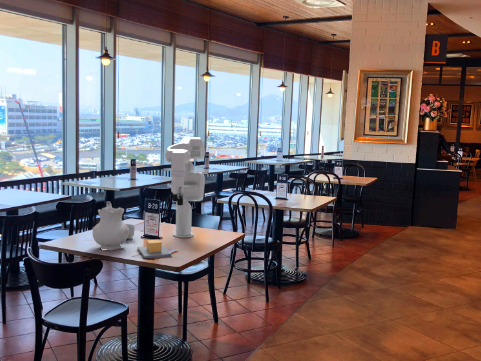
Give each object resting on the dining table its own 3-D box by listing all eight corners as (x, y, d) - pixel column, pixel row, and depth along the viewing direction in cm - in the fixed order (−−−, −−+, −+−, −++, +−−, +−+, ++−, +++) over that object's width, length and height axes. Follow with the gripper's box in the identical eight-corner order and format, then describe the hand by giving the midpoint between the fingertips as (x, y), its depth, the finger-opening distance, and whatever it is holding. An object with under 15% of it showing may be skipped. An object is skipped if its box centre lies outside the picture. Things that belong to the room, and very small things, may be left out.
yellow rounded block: (146, 249, 253) (146, 240, 252) (158, 248, 255) (158, 239, 255) (149, 252, 247) (149, 243, 246) (161, 251, 249) (161, 242, 249)
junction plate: (137, 249, 256) (137, 241, 256) (162, 248, 262) (162, 239, 262) (144, 258, 240) (144, 249, 240) (171, 256, 246) (171, 247, 245)
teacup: (132, 236, 287) (132, 223, 287) (136, 240, 278) (136, 226, 277) (109, 237, 281) (109, 224, 281) (112, 242, 272) (112, 228, 271)
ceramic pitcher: (87, 246, 264) (83, 203, 260) (120, 240, 275) (117, 198, 271) (100, 256, 246) (97, 210, 242) (135, 248, 258) (132, 204, 253)
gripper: (167, 171, 268) (167, 200, 271) (175, 176, 252) (175, 207, 255) (180, 170, 271) (180, 199, 274) (188, 175, 255) (188, 206, 258)
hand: (177, 203), depth 264 cm, fingers open, 9 cm apart
